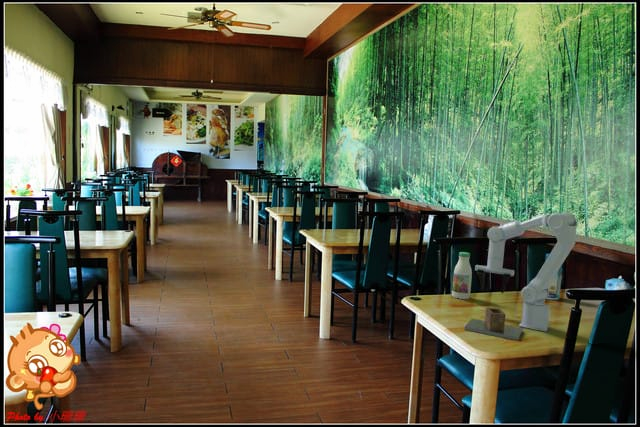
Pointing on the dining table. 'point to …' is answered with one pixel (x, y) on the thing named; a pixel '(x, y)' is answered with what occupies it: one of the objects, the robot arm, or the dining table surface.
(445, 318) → the dining table surface
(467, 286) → the milk bottle
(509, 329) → the plate
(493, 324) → the hollow wooden block
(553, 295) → the beverage bottle
